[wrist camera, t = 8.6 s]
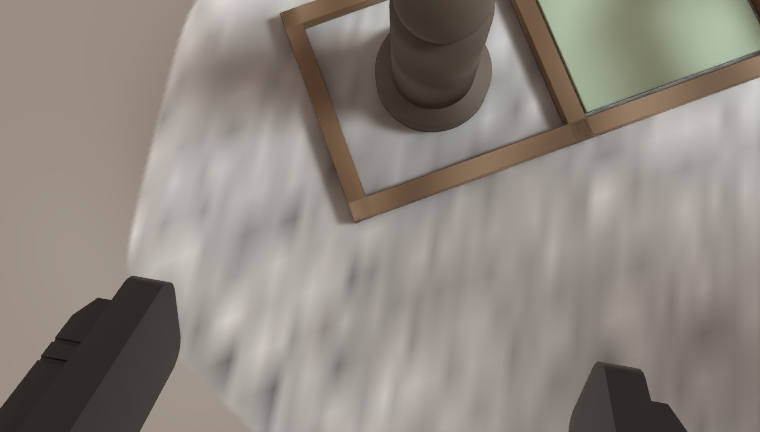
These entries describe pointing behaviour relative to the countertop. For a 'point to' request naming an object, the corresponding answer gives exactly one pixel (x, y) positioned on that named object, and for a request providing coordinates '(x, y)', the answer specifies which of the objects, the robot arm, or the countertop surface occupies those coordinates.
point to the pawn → (435, 62)
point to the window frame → (584, 65)
